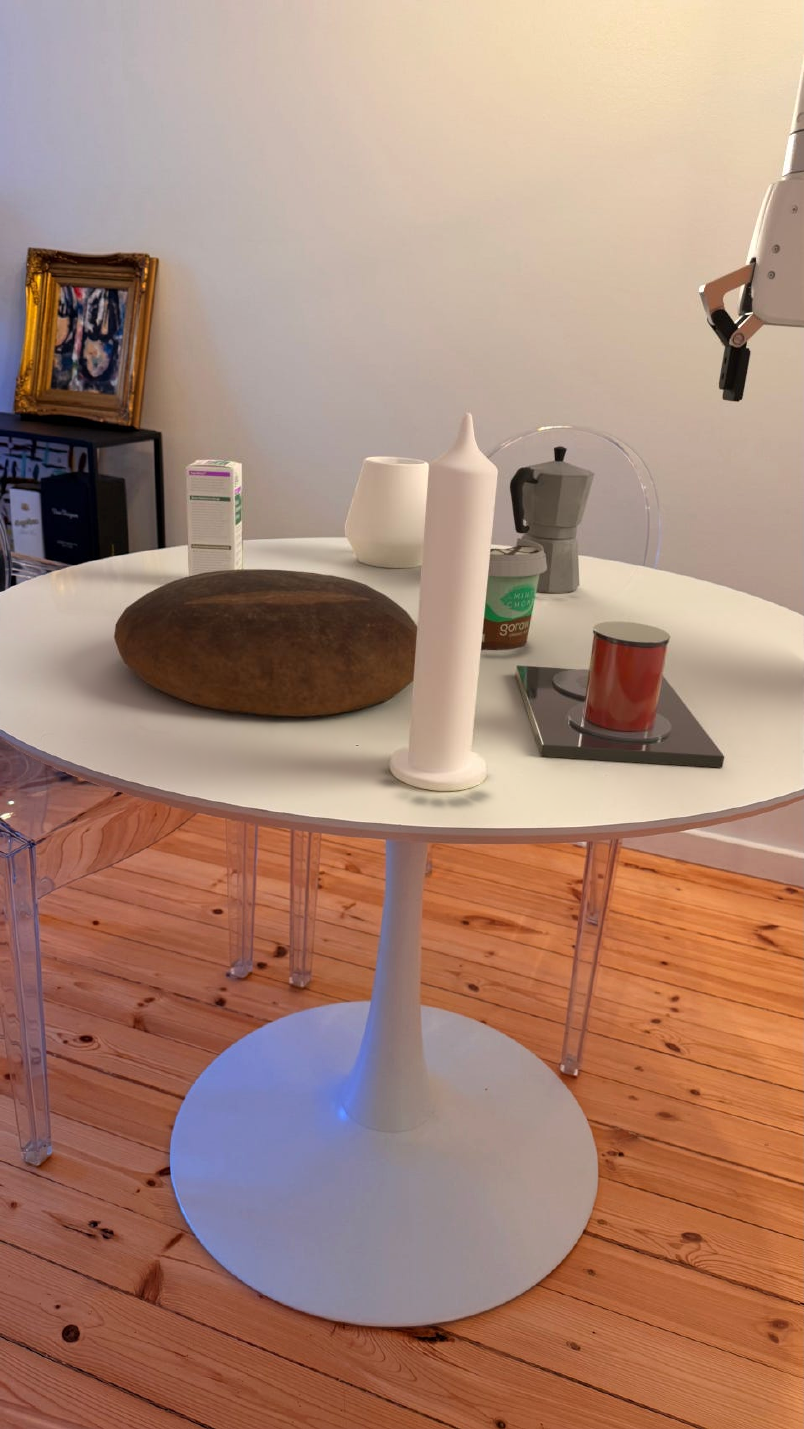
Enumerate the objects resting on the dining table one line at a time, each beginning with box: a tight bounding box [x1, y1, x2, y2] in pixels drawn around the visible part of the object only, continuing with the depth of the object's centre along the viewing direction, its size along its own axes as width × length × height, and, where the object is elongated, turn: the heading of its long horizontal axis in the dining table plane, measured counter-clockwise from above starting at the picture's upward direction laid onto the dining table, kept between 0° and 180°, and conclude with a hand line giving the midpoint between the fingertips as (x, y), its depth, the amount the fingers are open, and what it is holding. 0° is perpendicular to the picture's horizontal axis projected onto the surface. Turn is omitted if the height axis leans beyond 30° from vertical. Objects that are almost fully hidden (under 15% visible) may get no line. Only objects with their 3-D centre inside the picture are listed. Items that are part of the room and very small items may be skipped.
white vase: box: [344, 456, 430, 569], centre depth 138 cm, size 13×13×14 cm
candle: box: [389, 412, 499, 792], centre depth 67 cm, size 7×7×25 cm
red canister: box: [583, 621, 671, 731], centre depth 80 cm, size 6×6×7 cm
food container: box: [481, 537, 547, 651], centre depth 103 cm, size 12×6×10 cm, turn 143°
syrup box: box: [185, 459, 244, 576], centre depth 119 cm, size 6×6×14 cm
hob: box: [515, 665, 725, 769], centre depth 85 cm, size 14×20×1 cm
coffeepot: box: [509, 445, 595, 594], centre depth 128 cm, size 15×9×18 cm, turn 134°
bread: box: [113, 568, 417, 717], centre depth 90 cm, size 28×27×9 cm
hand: (790, 404), depth 80 cm, fingers open, 9 cm apart
